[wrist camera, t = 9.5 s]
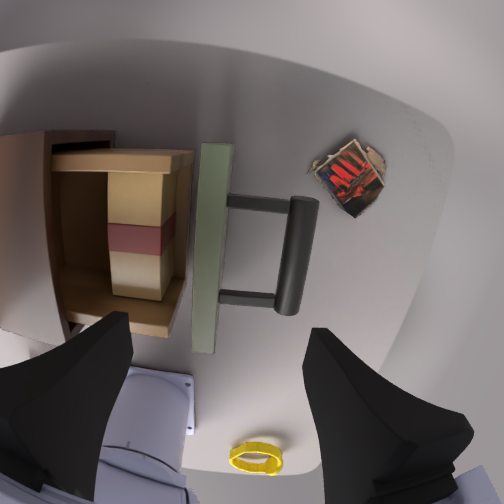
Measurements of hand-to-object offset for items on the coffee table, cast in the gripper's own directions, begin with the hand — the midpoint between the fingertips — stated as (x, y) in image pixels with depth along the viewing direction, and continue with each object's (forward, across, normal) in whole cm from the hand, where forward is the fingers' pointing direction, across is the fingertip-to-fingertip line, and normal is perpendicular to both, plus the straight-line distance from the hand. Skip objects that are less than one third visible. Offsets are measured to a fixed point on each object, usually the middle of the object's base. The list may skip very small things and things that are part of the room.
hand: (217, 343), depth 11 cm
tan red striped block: (+8, +5, -2) cm, 10 cm away
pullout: (+10, +4, -2) cm, 11 cm away
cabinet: (+10, +15, -2) cm, 18 cm away
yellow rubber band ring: (+9, -2, +23) cm, 25 cm away
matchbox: (+10, -8, -6) cm, 15 cm away
